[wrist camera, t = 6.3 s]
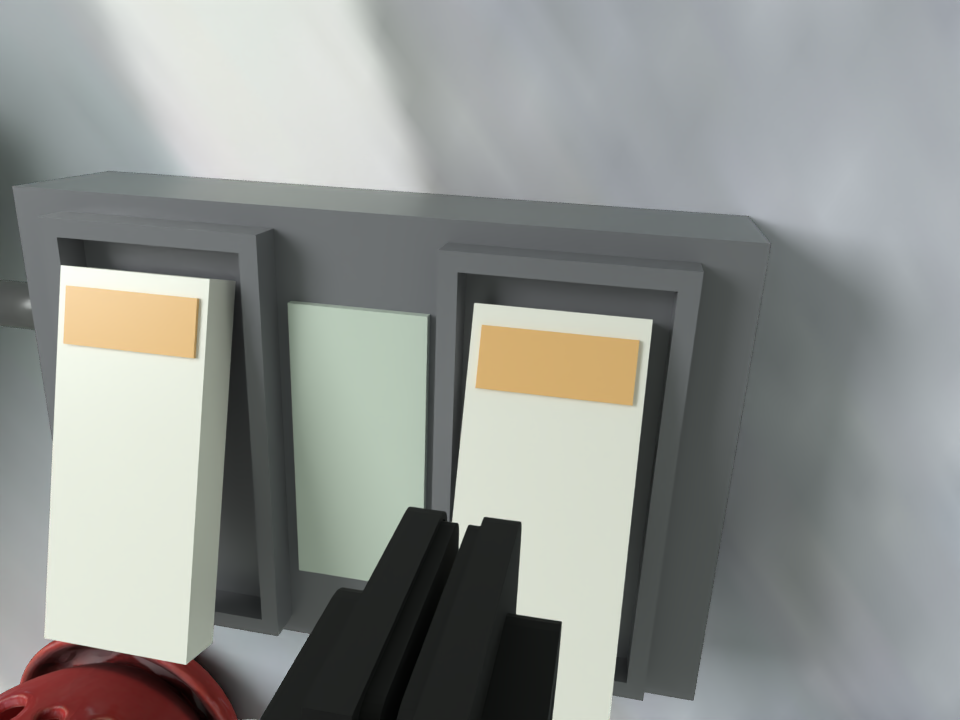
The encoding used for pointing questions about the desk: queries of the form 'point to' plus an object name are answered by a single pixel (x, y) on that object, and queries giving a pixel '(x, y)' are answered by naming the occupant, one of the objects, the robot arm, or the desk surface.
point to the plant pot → (112, 688)
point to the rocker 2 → (559, 473)
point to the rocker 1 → (138, 461)
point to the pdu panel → (419, 368)
